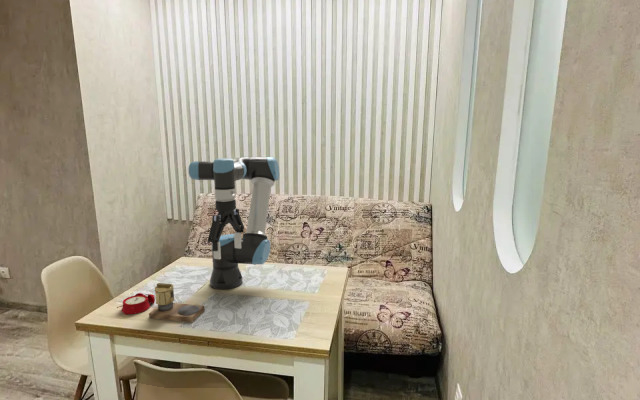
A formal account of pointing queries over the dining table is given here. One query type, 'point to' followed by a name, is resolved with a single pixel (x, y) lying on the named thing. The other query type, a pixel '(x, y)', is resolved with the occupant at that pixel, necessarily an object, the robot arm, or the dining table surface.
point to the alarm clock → (137, 303)
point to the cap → (164, 293)
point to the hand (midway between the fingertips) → (228, 253)
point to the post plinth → (177, 312)
